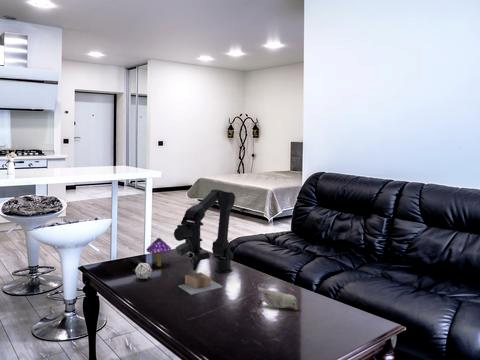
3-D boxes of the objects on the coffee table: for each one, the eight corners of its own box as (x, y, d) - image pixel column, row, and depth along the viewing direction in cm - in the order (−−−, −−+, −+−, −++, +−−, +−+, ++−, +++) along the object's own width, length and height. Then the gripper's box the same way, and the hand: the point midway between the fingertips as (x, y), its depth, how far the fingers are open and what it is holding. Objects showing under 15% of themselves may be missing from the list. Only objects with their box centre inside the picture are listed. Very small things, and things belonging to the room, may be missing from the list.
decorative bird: (296, 313, 156) (297, 294, 155) (255, 308, 161) (255, 289, 160) (298, 308, 161) (299, 289, 160) (259, 303, 166) (259, 285, 165)
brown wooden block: (200, 272, 191) (210, 277, 183) (200, 279, 191) (210, 285, 184) (184, 275, 186) (194, 281, 179) (185, 283, 186) (194, 289, 179)
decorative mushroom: (162, 261, 221) (162, 233, 219) (176, 266, 212) (175, 238, 210) (142, 266, 212) (141, 237, 211) (154, 271, 203) (154, 242, 202)
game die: (147, 285, 194) (159, 267, 196) (141, 285, 186) (154, 266, 188) (132, 274, 196) (145, 257, 198) (126, 274, 188) (139, 255, 190)
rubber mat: (209, 279, 192) (209, 278, 192) (223, 287, 182) (223, 286, 182) (178, 286, 183) (178, 285, 183) (191, 294, 173) (191, 294, 173)
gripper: (168, 234, 189) (169, 268, 190) (187, 243, 173) (188, 279, 175) (190, 231, 195) (190, 263, 197) (210, 239, 180) (210, 274, 181)
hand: (194, 270), depth 187 cm, fingers closed
